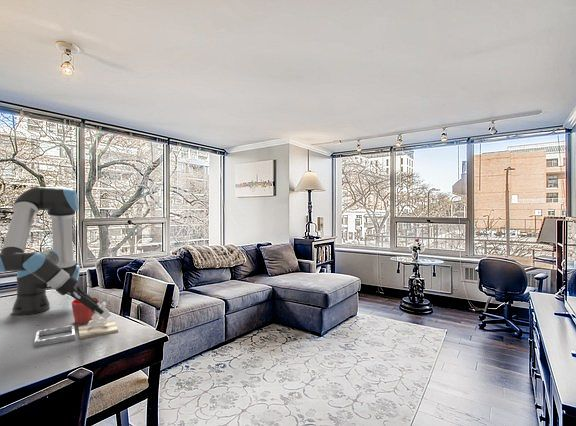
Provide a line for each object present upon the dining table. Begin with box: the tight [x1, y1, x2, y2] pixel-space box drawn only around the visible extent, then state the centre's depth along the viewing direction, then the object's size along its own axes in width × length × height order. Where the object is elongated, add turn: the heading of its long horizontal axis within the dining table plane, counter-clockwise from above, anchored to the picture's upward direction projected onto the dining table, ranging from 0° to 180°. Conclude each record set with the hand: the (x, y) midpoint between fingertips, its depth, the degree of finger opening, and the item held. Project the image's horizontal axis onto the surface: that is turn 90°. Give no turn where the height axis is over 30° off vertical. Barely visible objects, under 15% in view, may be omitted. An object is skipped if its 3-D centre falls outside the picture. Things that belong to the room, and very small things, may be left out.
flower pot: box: [71, 296, 99, 324], centre depth 152 cm, size 11×11×10 cm
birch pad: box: [77, 320, 119, 340], centre depth 140 cm, size 14×14×1 cm
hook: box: [86, 301, 108, 327], centre depth 140 cm, size 8×12×7 cm
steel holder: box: [33, 324, 76, 347], centre depth 131 cm, size 13×13×2 cm
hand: (107, 315), depth 142 cm, fingers closed on hook, 4 cm apart
